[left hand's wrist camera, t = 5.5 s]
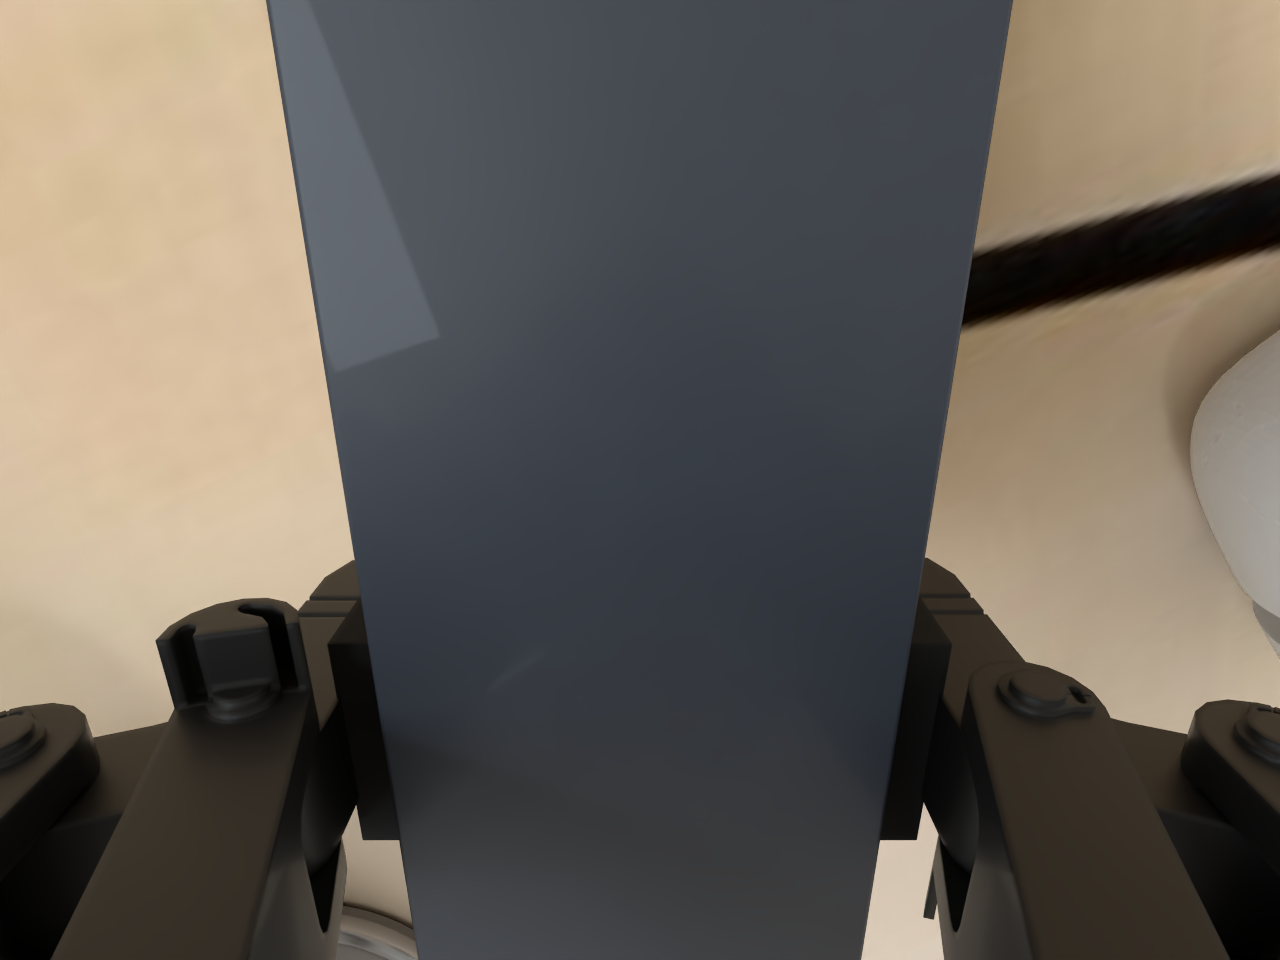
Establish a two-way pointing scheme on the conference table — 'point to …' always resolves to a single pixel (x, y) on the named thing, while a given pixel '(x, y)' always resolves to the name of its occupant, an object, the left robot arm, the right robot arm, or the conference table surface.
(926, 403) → the bar
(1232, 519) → the projector
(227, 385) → the conference table surface
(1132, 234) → the conference table surface
